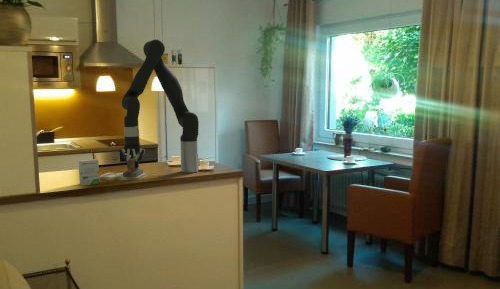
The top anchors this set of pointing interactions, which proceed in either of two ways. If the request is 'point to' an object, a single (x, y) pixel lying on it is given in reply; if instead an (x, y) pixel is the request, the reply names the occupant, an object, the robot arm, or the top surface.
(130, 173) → the sanding block
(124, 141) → the robot arm
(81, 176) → the ink box
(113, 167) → the top surface
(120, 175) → the birch board
